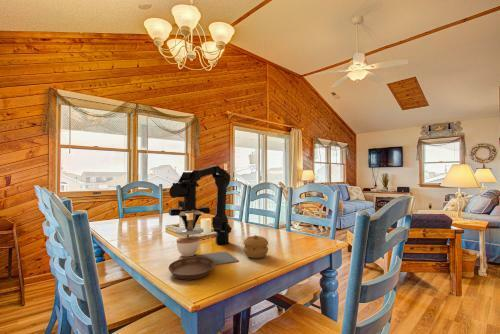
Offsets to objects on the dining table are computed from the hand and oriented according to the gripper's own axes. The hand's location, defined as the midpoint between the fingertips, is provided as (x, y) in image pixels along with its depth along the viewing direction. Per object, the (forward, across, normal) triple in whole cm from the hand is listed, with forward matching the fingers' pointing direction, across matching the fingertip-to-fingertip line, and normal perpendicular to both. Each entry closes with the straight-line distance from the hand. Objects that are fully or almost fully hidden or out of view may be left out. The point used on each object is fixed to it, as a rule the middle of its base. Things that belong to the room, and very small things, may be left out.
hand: (189, 228), depth 125 cm
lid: (+1, 0, 0) cm, 1 cm away
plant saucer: (+12, +5, +22) cm, 26 cm away
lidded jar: (+12, 0, 0) cm, 13 cm away
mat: (+12, -10, +11) cm, 19 cm away
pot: (+13, -28, +16) cm, 34 cm away
